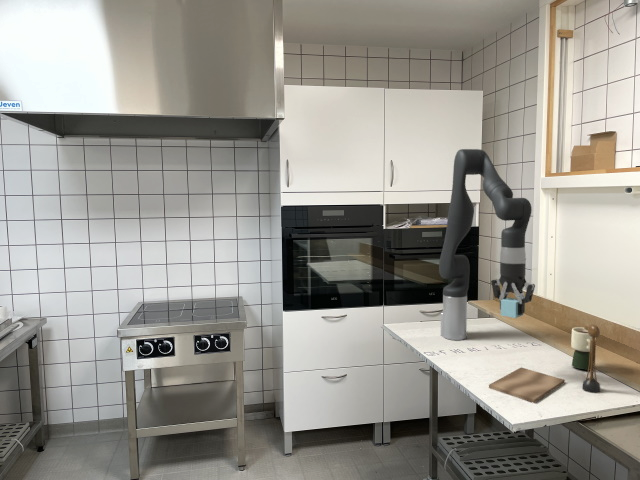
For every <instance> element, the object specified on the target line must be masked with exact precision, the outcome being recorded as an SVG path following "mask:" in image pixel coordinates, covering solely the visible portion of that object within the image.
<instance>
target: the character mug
mask: <svg viewBox="0 0 640 480" xmlns="http://www.w3.org/2000/svg"><path fill="white" fill-rule="evenodd" d="M590 340H592V337H591V336H590V335H589V334H588V331H587V330H585V329H584V327H583V326H582V327H581V326H579V327H578V326H577V327H572V329H571V339H570V342H571V343H570V346H571V349H573V350H574V351H573V355H572V361H571V366H572V367H573V368H575V369H581V370H584V371H585V370H588V367H589V358H590ZM595 340H596V341H597V338H595ZM591 349H592V346H591ZM590 368H591V362H590ZM589 371H590V369H589Z"/></svg>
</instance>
